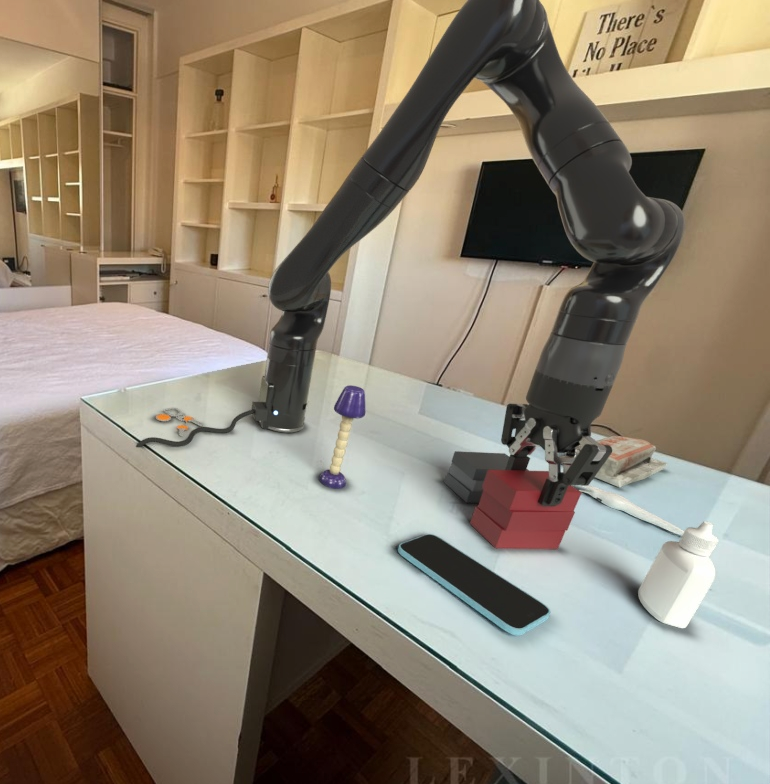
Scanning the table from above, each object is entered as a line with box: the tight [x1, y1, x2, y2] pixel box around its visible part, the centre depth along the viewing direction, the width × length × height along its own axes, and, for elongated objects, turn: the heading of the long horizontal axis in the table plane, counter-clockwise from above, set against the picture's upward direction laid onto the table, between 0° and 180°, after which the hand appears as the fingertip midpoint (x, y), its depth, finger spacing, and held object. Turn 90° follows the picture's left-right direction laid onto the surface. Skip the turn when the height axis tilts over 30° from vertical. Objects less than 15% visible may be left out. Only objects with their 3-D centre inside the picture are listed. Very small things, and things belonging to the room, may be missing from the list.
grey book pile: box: [443, 450, 530, 504], centre depth 73 cm, size 9×6×6 cm
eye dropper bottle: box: [637, 520, 720, 629], centre depth 50 cm, size 4×6×12 cm
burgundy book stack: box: [469, 490, 576, 550], centre depth 63 cm, size 9×6×6 cm, turn 93°
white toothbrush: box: [578, 484, 685, 536], centre depth 71 cm, size 15×3×2 cm, turn 22°
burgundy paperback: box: [482, 470, 583, 512], centre depth 61 cm, size 9×5×3 cm, turn 93°
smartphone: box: [397, 533, 552, 636], centre depth 54 cm, size 7×1×15 cm
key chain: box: [155, 407, 203, 437], centre depth 93 cm, size 13×7×1 cm, turn 30°
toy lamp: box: [318, 384, 366, 490], centre depth 72 cm, size 5×5×17 cm
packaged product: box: [561, 435, 668, 488], centre depth 85 cm, size 18×5×10 cm
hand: (529, 491), depth 61 cm, fingers closed on burgundy paperback, 5 cm apart
